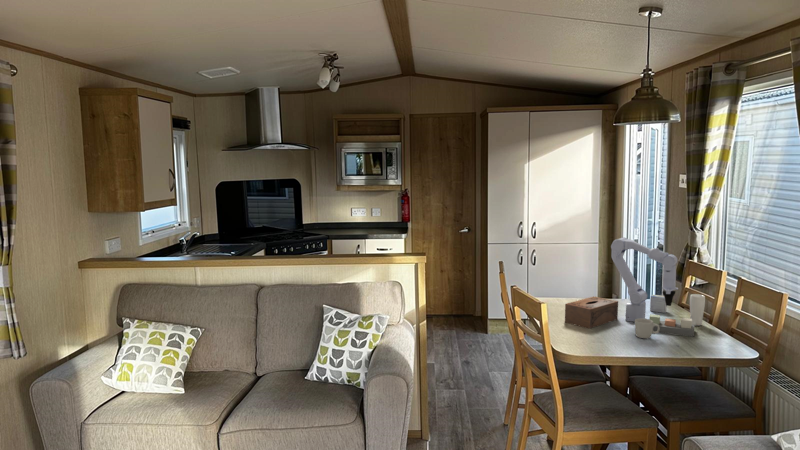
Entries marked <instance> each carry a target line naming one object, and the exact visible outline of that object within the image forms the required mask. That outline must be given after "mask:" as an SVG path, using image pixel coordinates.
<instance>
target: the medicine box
mask: <svg viewBox="0 0 800 450" xmlns="http://www.w3.org/2000/svg"><path fill="white" fill-rule="evenodd" d="M649 306H650V307H649V311H650V312H653V313H654V312H656V313H664V314H666V313H667V307H668V306H666V302H665V297H664V295H661V294H660V295H659V294H651V295H650V305H649Z"/></svg>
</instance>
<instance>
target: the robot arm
mask: <svg viewBox="0 0 800 450" xmlns="http://www.w3.org/2000/svg"><path fill="white" fill-rule="evenodd" d="M610 249H611V259H612V261H613V264H614V265H615V267H616V269H617V271H618V273H619V275H620V277H621V278H622V280H623V282H624V284H625V285H626V287H627V293H628V295H629V301H630V302H626V305H625V321H626V322H627V321H628V322H632V323H633V322H634V323H635V319H640V318H642V319H647V317H646V306H647V304H646V300H647V299H648V293H647V291H645V290H644V289H643V288H642V286H641V285H639V284H638V282H637V281H636V278H635V277H634V275H633V273H632V271H631V269H630V268H629V265H628V263H627V262H626V260H625V258H624V256H625V254H626V251H627V250H634V251H637V252H640V253H642V254H644V255H646V256H647V257H648V258H649V259H650V260H653V261H655V262H657V263H659V264H662V265H663V273H662V274H663V277H662V290H663V291H662V295H663V296H664V297H665V302H666V306H667V307H672V303H673V298H674V296H675V294H676V290H677V291H678V290H679V287H676V283H677V280H676V279H677V278H676V277H677V264H678V260H679V259H678V257H677V256H676V254H675V255H674V254H673V253H669V252H665V251H663V250H660V248H659V247H653V248H649V247H647V246H645V245H643V244H641V243H639V242H637V241H635V240H632V239H630V238H627V237H620V238H616V239H614V240H613V241H612V243H611V245H610Z"/></svg>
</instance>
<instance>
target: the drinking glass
mask: <svg viewBox="0 0 800 450" xmlns="http://www.w3.org/2000/svg"><path fill="white" fill-rule="evenodd" d="M705 305H706V296H705V295H703V294H701V293H700V294H699V293H697V294H696V293H693V294H692V293H691V294H690V295H689V315H690V318H689V319H692V324H693V325H695V326H702V325H703V318H704V312H705Z"/></svg>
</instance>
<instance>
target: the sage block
mask: <svg viewBox="0 0 800 450" xmlns="http://www.w3.org/2000/svg"><path fill="white" fill-rule="evenodd" d="M648 319H649V320H652V321H653V323H655V324H658V325H660V321H661V315H659V314H654V313H653V314H652V313H650V315H649V318H648Z"/></svg>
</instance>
